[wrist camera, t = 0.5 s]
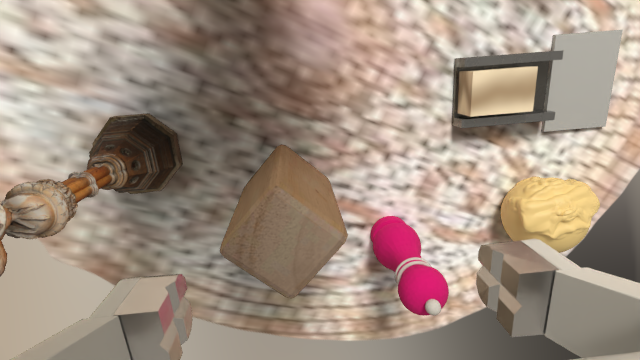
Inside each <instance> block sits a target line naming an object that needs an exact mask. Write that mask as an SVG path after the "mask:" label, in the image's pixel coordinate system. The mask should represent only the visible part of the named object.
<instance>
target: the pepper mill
mask: <svg viewBox="0 0 640 360" xmlns="http://www.w3.org/2000/svg"><path fill="white" fill-rule="evenodd" d="M371 240H372V242H373V251H374V254H375V256H376V257H377V259H378V261H379V262H380V263H381V264H382V265H384V266H385V267H386V268H389V269H391V270H393V271H394V272H395V280H396V283H397V284H398V294H399V297H400V300H401V302H402V303H403V305H404V306H405V307H406V308H407V309H408V310H410V311H411V312H413V313H415V314H418V315H437V314H439V313H440V311H441V309H442V308H443V307H444V305H445V303H446V302H447V299H448V294H449V292H448V285H447V282H446V280H445V278H444V277H443V275H442V274H441V273H440V272H439V271H438V270H436V269H434V268H432V267H431V266H430V264H429V263H428V262H427V261H426V260H424V259H422V258H421V256H420V254H421V243H420V239H419V237H418V235H417V233H416V232H415V230H414V229H413V228H411V227H410V226H408V225H406V224H405V222H404V221H403V220H402V219H400V218H398V217H395V216H387V217H383V218H381V219H380V220H378V221H377V222H376V223H375V224H374V226H373V227H372V230H371Z"/></svg>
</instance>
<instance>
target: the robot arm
mask: <svg viewBox="0 0 640 360" xmlns="http://www.w3.org/2000/svg"><path fill="white" fill-rule="evenodd" d="M478 260H479V261H480V263H481V264H482V265H483V266H482V267H481V269H480V270H479V271H478V272H477V280H476V285H477V289H478V293H479V296H480V298H481V300H482V302H483V303H484V304H485V305H486V307H487V308H489V309H491V310H494V311H495V312H497V320H498V321H499V323H501V325H502V326H503V327H504V329H505V330H506V331H507V332H508V333H509V335H510V336H511V337H517V336H529V335H542V334H545V336H546V337H548V338H549V339H551V340H553V341H554V342H556V343H558V344H559V345H561V346H563V347H565V348H566V349H568V350H570V351H571V352H573V353H575V354H576V355H578V356H580V357H581V358H582V359H572V360H640V283H637V282H634V281H630V280H627V279H624V278H620V277H617V276H613V275H610V274H607V273H604V272H600V271H597V270H593V269H590V268H580V267H579V266H578V265H576V264H575V263H573V262H572V261H570V260H569V259H567V258H566V257H564V256H563V255H561V254H560V253H559V252H557V251H556V250H554V249H553V248H551V247H550V246H548V245H547V244H545V243H544V242H542V241H541V240H539V239H527V240H520V241H512V242H504V243H495V244H487V245H481V247H480V249H479V254H478ZM186 290H187V285H186V281H185V277H184V276H183V275H182V274H175V275H162V276H149V277H136V278H127V279H123V280H120V281H119V282H118V284H117V285H116V286H115V287H114V288H113V290H112V291H111V292H110V293H109V294H108V296H107V297H106V298H105V299H104V300H103V302H102V303H101V304H100V305H99V307H98V308H97V309H96V310H95V311H94V313H93V314H92V315H91V316H90V317H89V319H82V320H80V321H78V322H76V323H75V324H73V325H71V326H69V327H68V328H66V329H64V330H62V331H61V332H59V333H57V334H55V335H53V336H52V337H50V338H48V339H46V340H44V341H43V342H41V343H39V344H37V345H35V346H34V347H32V348H30V349H28V350H27V351H25V352H23V353H21V354H20V355H18V356H16V357H14V358H12V359H11V360H180V358H181V356H182V348H181V345H182V344H183V343H184V342H185V341H187V340H188V338H189V335H190V332H191V327H192V308H191V303H190V302H189V301H188V300H187V299H186V298H185V297H184V294H185V292H186Z"/></svg>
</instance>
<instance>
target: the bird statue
mask: <svg viewBox="0 0 640 360" xmlns="http://www.w3.org/2000/svg"><path fill="white" fill-rule="evenodd" d="M89 153H90V155H89V157H90V159H89V161H88V166H87V167H88V168H87V169H88V170H86V171H84V172H81V173H78V172H74V173H71V174H70V175H69V178H68V179H67V180H65V181H63V182H60V181H58V182H55V181H53V180H50V179H47V180H39V181H37V182H27V183H22V184H19V185H17V186H15V187H14V188H13V189H11V191H9V192H8V193H7V194H6V197H5V200H3V201H2V204H1V203H0V276H1V275H2V274H3V273H4V270H5V266H6V263H7V253H6V251H5V249H4V247H3V244H2V242H1V240H2V239H3V237H4V235H5V234H7V235H8V236H12V237H14V238H20V237H22V238H26V239H33V238H37V237H39V238H40V237H42V238H44V237H47V236H53V235H55V234H57V233H58V232H60V231H61V230H62V229H63V228H64V227H65V225H66V224H67V222H68V221H70V219H71V218H73V217H74V215H75V213H76V210H77V206H78V205H77V203H78V202H79V201H81V200H82V199H84V198H85V197H94V196H96V195H97V194H98V191H99V189H100V188H102V189H105V190H110V189H114V190H115V191H118V192H119V193H124V192H128V193H130V194H135V193H144V192H153V191H161V190H162V189H163V188H164V187H165V186H166V184H167V183H168V182H169V180H170V179H171V178H172V176H173V175H174V174H175V173H176V171H177V170H178V169H179V167H180V166H181V165H182V164H183V163H182V158H181V153H180V148H179V144H178V139H177V134H176V133H175V132H174V131H173V130H171V129H170V128H168V127H167V126H166V125H164V124H163V123H162V122H160V121H159V120H157V119H156V118H155V117H153V116H152V115H151V114H136V115H124V116H114V117H110V118H109V120H108V121H107V123H106V124H105V126H104V127H103V129H102V130H101V132H100V133H99V135H98V136H97V138H96V139H95V141H94V142H93V148H92V149H91V151H90V152H89Z"/></svg>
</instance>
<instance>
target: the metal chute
mask: <svg viewBox="0 0 640 360" xmlns="http://www.w3.org/2000/svg"><path fill="white" fill-rule="evenodd" d="M563 51H564V50H562V51H549V52H535V53H522V54H509V55H496V56H483V57H470V58H457V59H455V66H454V89H453V112H452V125H454V126H457V127H459V128H468V127H480V126H492V125H503V124H515V123H526V122H538V121H549V120H554V119H555V112H554V111H547V110H544V103H545V95H546V87H547V79H548V70H549V62H550V61H551V60H562V59H563ZM534 66H538V71H537V79H536V88H535V97H534V106H533V111H531V112H519V113H507V114H496V115H484V116H472V117H470V116H466V115H462V114H458V92H459V71H471V70H484V69H497V68H509V67H534Z"/></svg>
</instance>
